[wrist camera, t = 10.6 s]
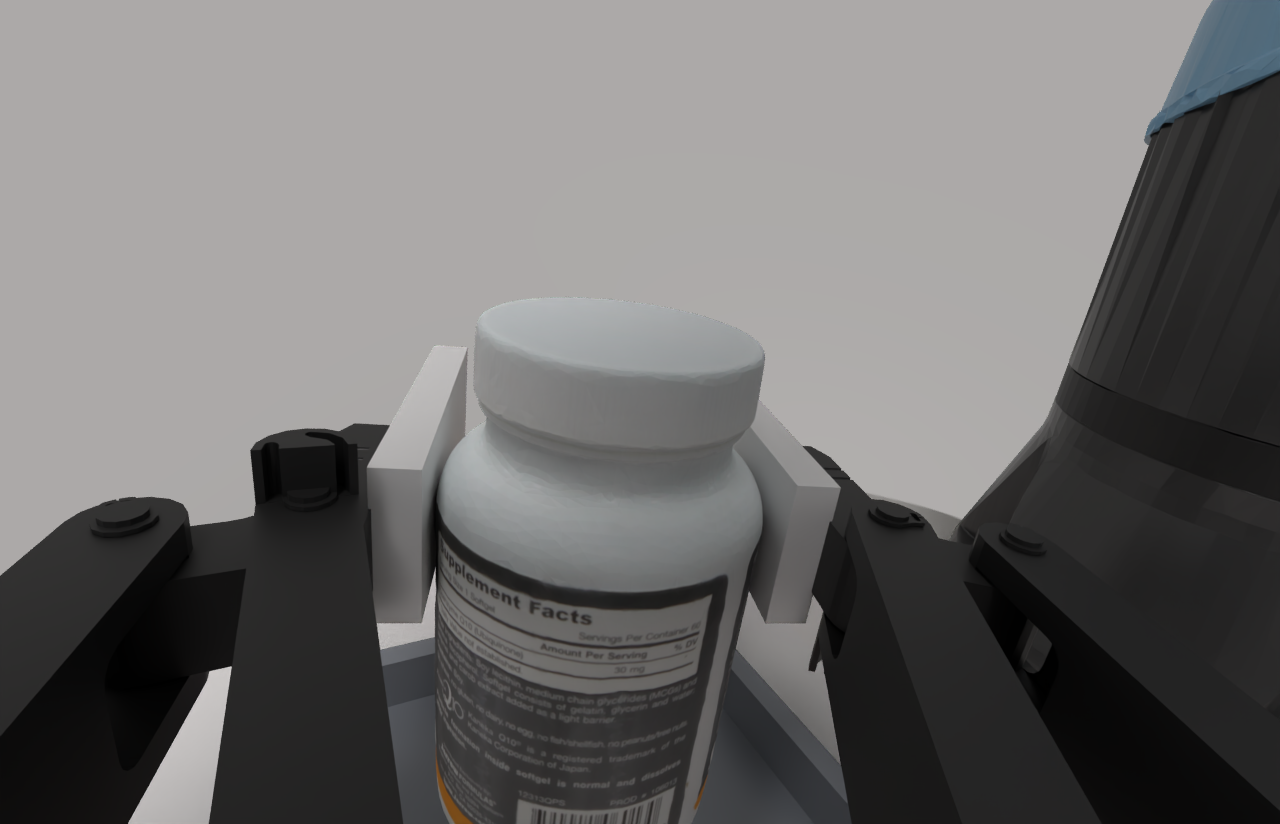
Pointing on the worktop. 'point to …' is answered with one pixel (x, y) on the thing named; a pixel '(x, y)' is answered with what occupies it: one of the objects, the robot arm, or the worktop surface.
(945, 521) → the worktop surface
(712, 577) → the pill bottle
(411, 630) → the worktop surface
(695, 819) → the tray
